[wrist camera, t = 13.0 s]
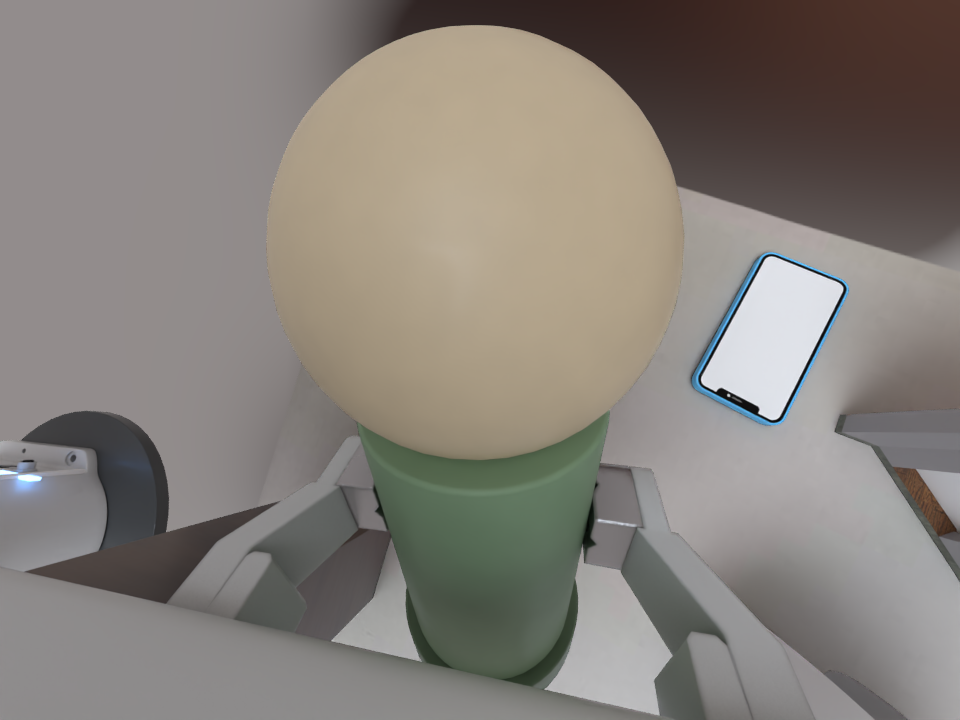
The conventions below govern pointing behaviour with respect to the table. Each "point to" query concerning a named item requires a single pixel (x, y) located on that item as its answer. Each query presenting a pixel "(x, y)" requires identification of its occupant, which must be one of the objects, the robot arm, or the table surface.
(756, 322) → the smartphone
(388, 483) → the toy
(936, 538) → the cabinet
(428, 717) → the robot arm
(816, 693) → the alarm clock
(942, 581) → the table surface
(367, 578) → the pedestal
